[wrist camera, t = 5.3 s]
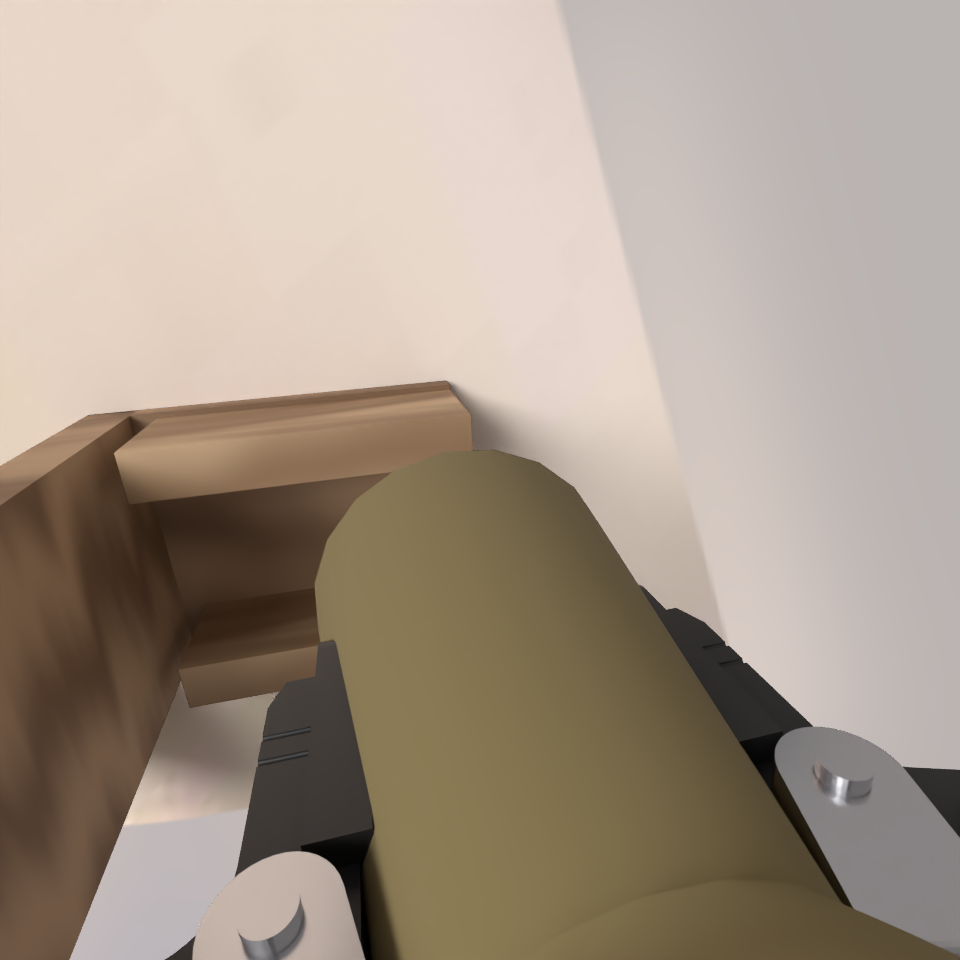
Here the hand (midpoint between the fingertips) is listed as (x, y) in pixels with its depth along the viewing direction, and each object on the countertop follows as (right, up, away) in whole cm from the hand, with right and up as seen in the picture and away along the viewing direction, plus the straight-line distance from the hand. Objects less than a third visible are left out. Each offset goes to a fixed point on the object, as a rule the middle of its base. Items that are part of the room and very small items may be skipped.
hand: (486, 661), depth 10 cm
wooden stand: (-9, +1, +19) cm, 21 cm away
